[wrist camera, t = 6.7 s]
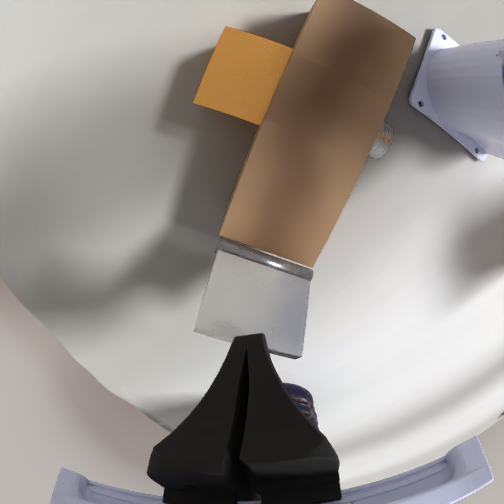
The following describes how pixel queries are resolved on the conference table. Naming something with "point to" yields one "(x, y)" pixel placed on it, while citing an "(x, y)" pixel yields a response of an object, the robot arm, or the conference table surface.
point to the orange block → (253, 80)
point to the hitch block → (317, 130)
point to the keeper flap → (255, 299)
